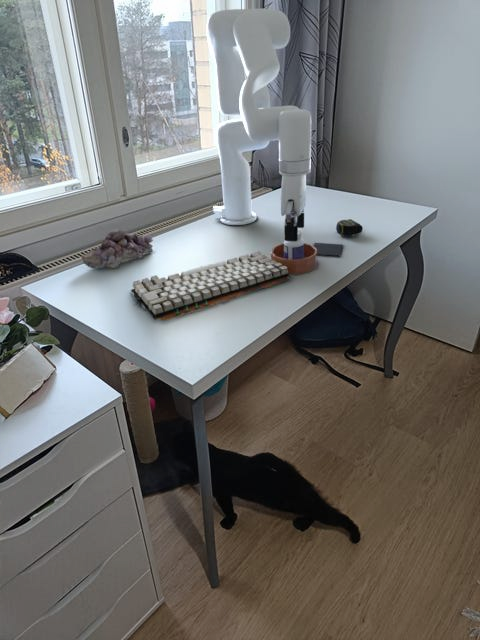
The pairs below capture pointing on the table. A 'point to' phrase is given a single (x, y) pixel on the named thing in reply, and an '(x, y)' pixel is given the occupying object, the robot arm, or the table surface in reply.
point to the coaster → (328, 249)
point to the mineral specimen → (118, 250)
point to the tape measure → (348, 227)
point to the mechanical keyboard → (207, 285)
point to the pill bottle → (294, 248)
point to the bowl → (299, 264)
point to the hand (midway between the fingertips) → (294, 233)
